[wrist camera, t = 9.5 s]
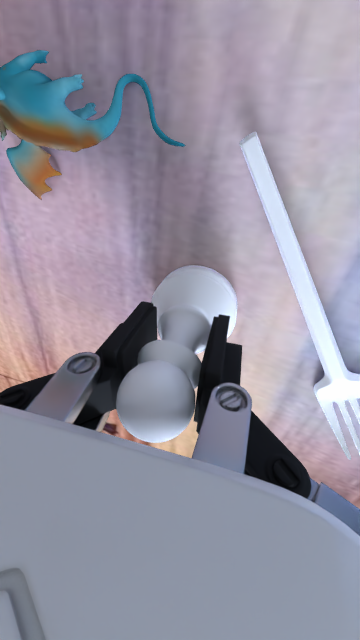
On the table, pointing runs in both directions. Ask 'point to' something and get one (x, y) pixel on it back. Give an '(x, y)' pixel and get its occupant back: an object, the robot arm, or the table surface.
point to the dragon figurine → (53, 117)
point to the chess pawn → (174, 353)
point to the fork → (306, 298)
